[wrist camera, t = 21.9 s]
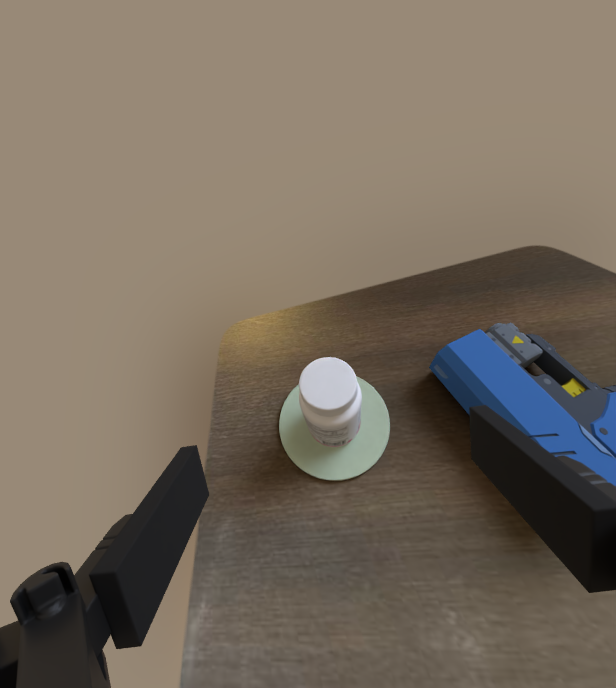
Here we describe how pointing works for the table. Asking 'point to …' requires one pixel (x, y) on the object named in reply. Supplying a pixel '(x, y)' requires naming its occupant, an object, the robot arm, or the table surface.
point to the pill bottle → (330, 401)
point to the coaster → (336, 459)
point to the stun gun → (533, 393)
